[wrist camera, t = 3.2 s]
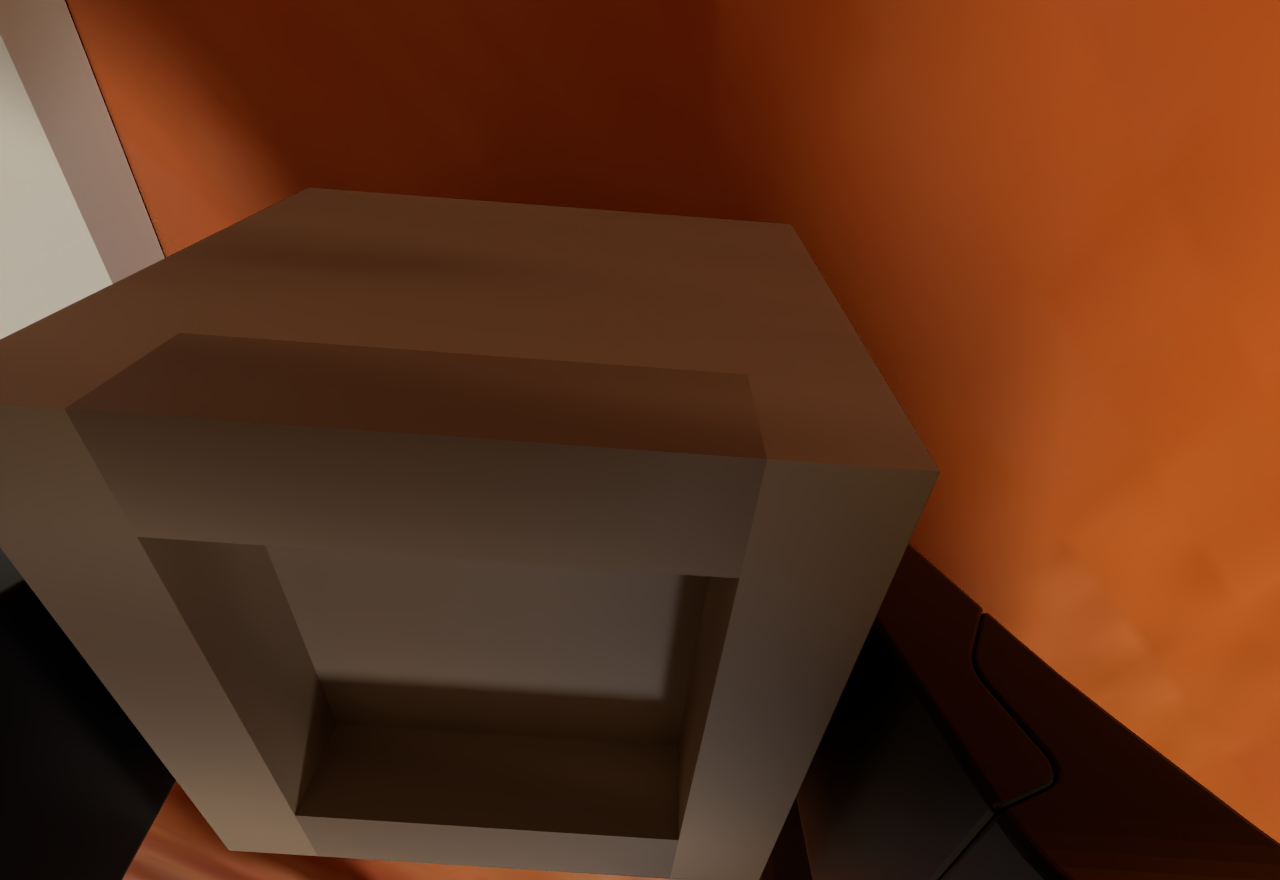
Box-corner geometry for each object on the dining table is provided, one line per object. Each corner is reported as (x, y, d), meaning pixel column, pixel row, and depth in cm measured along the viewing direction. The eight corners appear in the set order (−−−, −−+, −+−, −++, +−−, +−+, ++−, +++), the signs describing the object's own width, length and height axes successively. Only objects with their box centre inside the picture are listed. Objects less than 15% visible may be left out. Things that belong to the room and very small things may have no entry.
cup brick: (722, 561, 11) (757, 884, 7) (391, 538, 11) (228, 851, 7) (791, 224, 8) (938, 471, 4) (308, 187, 8) (-115, 395, 3)
